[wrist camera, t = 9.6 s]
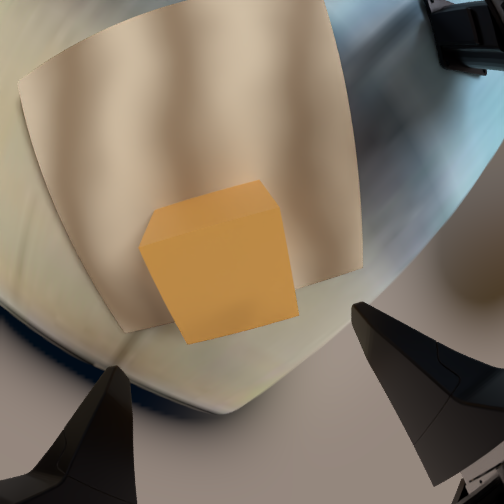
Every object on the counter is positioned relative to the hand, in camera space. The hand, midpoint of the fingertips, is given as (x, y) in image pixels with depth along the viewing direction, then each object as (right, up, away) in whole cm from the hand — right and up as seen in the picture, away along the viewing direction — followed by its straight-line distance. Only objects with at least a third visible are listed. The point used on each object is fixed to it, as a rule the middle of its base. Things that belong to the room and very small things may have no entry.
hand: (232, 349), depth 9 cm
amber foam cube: (-1, +4, +7) cm, 8 cm away
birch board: (-2, +8, +6) cm, 11 cm away
